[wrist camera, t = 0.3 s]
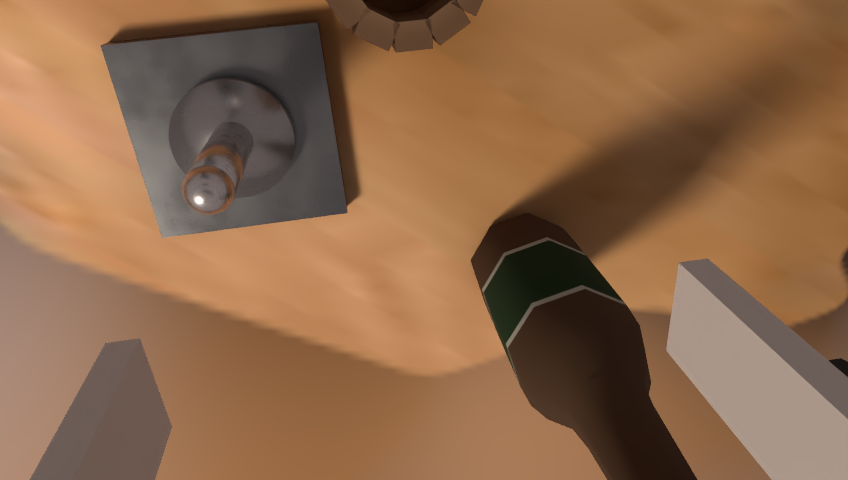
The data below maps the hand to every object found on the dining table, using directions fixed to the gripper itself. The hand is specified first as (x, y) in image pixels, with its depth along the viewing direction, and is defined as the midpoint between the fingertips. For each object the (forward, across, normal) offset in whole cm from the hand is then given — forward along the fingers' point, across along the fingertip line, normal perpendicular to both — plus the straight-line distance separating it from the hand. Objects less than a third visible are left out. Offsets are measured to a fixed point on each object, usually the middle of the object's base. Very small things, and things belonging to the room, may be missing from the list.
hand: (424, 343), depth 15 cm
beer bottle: (+26, +10, -13) cm, 31 cm away
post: (+26, -8, -1) cm, 27 cm away
